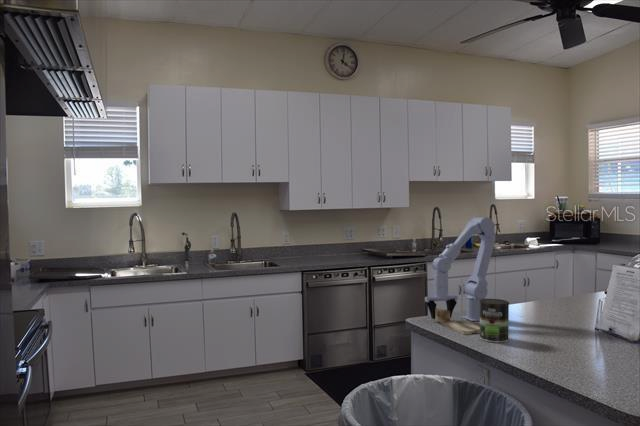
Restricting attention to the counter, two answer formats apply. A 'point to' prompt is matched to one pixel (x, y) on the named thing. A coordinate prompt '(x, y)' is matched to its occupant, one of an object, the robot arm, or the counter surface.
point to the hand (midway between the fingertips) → (441, 317)
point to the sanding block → (442, 315)
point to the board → (463, 326)
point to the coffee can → (494, 320)
